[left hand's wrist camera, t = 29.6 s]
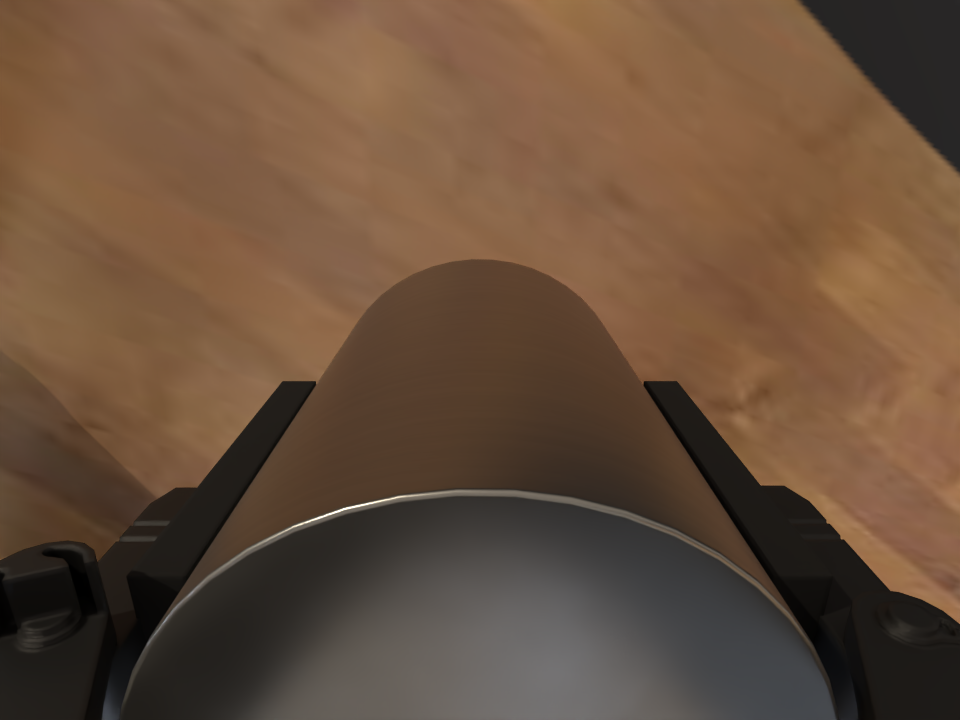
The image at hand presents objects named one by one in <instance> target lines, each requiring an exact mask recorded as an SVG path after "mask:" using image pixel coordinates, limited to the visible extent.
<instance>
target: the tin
mask: <svg viewBox="0 0 960 720" xmlns="http://www.w3.org/2000/svg"><path fill="white" fill-rule="evenodd" d="M120 720H839V715H838V710H837V706H836V702H835V699H834V695H833V691H832V687H831V683H830V680H829V677H828V675H827V673H826V671H825V669H824V666H823V664H822V662H821V660H820V658H819V656H818V654H817V652H816V650H815V647H814V645H813V643H812V642H811V640H810V639H809V637H808V636H807V634H806V633H805V631H804V630H803V628H802V627H801V625H800V624H799V622H798V621H797V619H796V618H795V616H794V615H793V613H792V611H791V610H790V608H789V607H788V605H787V604H786V602H785V601H784V599H783V598H782V596H781V595H780V593H779V592H778V590H777V589H776V587H775V586H774V584H773V583H772V581H771V579H770V578H769V576H768V575H767V573H766V572H765V570H764V569H763V567H762V566H761V564H760V563H759V561H758V560H757V558H756V557H755V555H754V554H753V552H752V551H751V549H750V547H749V546H748V544H747V543H746V541H745V540H744V538H743V537H742V535H741V534H740V532H739V531H738V529H737V528H736V526H735V525H734V523H733V522H732V520H731V519H730V517H729V515H728V514H727V512H726V511H725V509H724V508H723V506H722V505H721V503H720V502H719V500H718V499H717V497H716V496H715V494H714V493H713V491H712V490H711V488H710V486H709V485H708V483H707V482H706V480H705V479H704V477H703V476H702V474H701V473H700V471H699V470H698V468H697V467H696V465H695V464H694V462H693V461H692V459H691V458H690V456H689V454H688V453H687V451H686V450H685V448H684V447H683V445H682V444H681V442H680V441H679V439H678V438H677V436H676V435H675V433H674V432H673V430H672V429H671V427H670V426H669V424H668V422H667V421H666V419H665V418H664V416H663V415H662V413H661V412H660V410H659V409H658V407H657V406H656V404H655V403H654V401H653V400H652V398H651V397H650V395H649V394H648V392H647V390H646V389H645V387H644V386H643V384H642V383H641V381H640V380H639V378H638V377H637V375H636V374H635V372H634V371H633V369H632V368H631V366H630V365H629V363H628V361H627V360H626V358H625V357H624V355H623V354H622V352H621V351H620V349H619V348H618V346H617V345H616V343H615V342H614V340H613V339H612V337H611V336H610V334H609V333H608V331H607V329H606V328H605V326H604V325H603V324H602V322H601V321H600V319H599V318H598V317H597V315H596V314H595V312H594V311H593V310H592V309H591V308H590V307H589V306H588V305H587V304H586V303H585V302H584V300H583V299H582V298H581V297H579V296H578V295H577V294H576V293H574V292H573V291H572V290H571V289H569V288H568V287H567V286H565V285H564V284H562V283H560V282H559V281H557V280H555V279H554V278H552V277H550V276H548V275H546V274H544V273H542V272H539V271H537V270H535V269H532V268H529V267H526V266H522V265H519V264H515V263H511V262H504V261H497V260H475V259H471V260H463V261H454V262H449V263H445V264H441V265H437V266H433V267H430V268H428V269H425V270H423V271H420V272H418V273H415V274H413V275H411V276H409V277H408V278H406V279H404V280H402V281H401V282H399V283H397V284H396V285H394V286H393V287H392V288H390V289H389V290H388V291H386V292H385V293H384V294H382V295H381V296H380V297H379V298H378V299H377V300H376V301H375V302H374V303H373V304H372V305H371V306H370V307H369V308H368V309H367V311H366V312H365V313H364V315H363V316H362V317H361V319H360V320H359V321H358V323H357V324H356V325H355V327H354V328H353V330H352V331H351V333H350V335H349V336H348V338H347V339H346V341H345V342H344V344H343V345H342V347H341V348H340V350H339V351H338V353H337V354H336V356H335V357H334V359H333V360H332V362H331V363H330V365H329V366H328V368H327V369H326V371H325V372H324V374H323V375H322V377H321V378H320V380H319V382H318V383H317V385H316V386H315V388H314V389H313V391H312V392H311V394H310V395H309V397H308V398H307V400H306V401H305V403H304V404H303V406H302V407H301V409H300V410H299V412H298V413H297V415H296V416H295V418H294V419H293V421H292V422H291V424H290V425H289V427H288V429H287V430H286V432H285V433H284V435H283V436H282V438H281V439H280V441H279V442H278V444H277V445H276V447H275V448H274V450H273V451H272V453H271V454H270V456H269V457H268V459H267V460H266V462H265V463H264V465H263V466H262V468H261V469H260V471H259V472H258V474H257V476H256V477H255V479H254V480H253V482H252V483H251V485H250V486H249V488H248V489H247V491H246V492H245V494H244V495H243V497H242V498H241V500H240V501H239V503H238V504H237V506H236V507H235V509H234V510H233V512H232V513H231V515H230V516H229V518H228V519H227V521H226V523H225V524H224V526H223V527H222V529H221V530H220V532H219V533H218V535H217V536H216V538H215V539H214V541H213V542H212V544H211V545H210V547H209V548H208V550H207V551H206V553H205V554H204V556H203V557H202V559H201V560H200V562H199V563H198V565H197V566H196V568H195V570H194V571H193V573H192V574H191V576H190V577H189V579H188V580H187V582H186V583H185V585H184V586H183V588H182V589H181V591H180V592H179V594H178V595H177V597H176V598H175V600H174V601H173V603H172V604H171V606H170V607H169V609H168V610H167V612H166V614H165V615H164V617H163V618H162V620H161V621H160V623H159V624H158V626H157V627H156V629H155V630H154V632H153V633H152V635H151V636H150V638H149V640H148V642H147V644H146V646H145V648H144V650H143V651H142V653H141V655H140V657H139V659H138V661H137V663H136V665H135V667H134V669H133V670H132V674H131V677H130V680H129V683H128V687H127V690H126V693H125V696H124V700H123V703H122V707H121V716H120Z"/></svg>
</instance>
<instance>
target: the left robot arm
mask: <svg viewBox="0 0 960 720" xmlns="http://www.w3.org/2000/svg"><path fill="white" fill-rule="evenodd" d="M315 386H316V381H283V382H282V383H281V384H280V385H279V387H278V388H277V389H276V390H275V391H274V393H273V394H272V395H271V396H270V398H269V399H268V400H267V401H266V403H265V404H264V405H263V406H262V408H261V409H260V410H259V411H258V413H257V414H256V415H255V416H254V418H253V419H252V420H251V421H250V423H249V424H248V425H247V426H246V428H245V429H244V430H243V431H242V433H241V434H240V435H239V436H238V438H237V439H236V440H235V441H234V443H233V444H232V445H231V446H230V448H229V449H228V450H227V451H226V453H225V454H224V455H223V456H222V458H221V459H220V460H219V461H218V462H217V464H216V465H215V466H214V467H213V469H212V470H211V471H210V472H209V474H208V475H207V476H206V477H205V479H204V480H203V481H202V482H201V484H200V485H199V486H198V487H197V488H175V489H173V490H171V491H170V492H168V493H167V494H165V495H163V496H162V497H160V498H159V499H157V500H155V501H154V502H152V503H151V504H150V505H149V506H148V507H147V508H146V509H145V510H144V511H143V512H142V513H141V515H140V516H139V517H138V518H137V519H136V520H135V521H134V525H133V526H130V527H129V528H128V529H127V530H126V531H125V532H124V534H123V535H122V536H121V537H120V541H119V542H116V543H115V544H114V545H113V546H112V547H111V548H110V549H109V550H108V551H107V553H106V554H105V555H104V556H103V557H102V558H101V559H100V560H99V561H98V563H97V559H96V556H95V552H94V550H93V549H92V548H90V547H89V546H88V545H86V544H85V543H80V542H74V541H60V542H51V543H45V544H41V545H38V546H34V547H31V548H27V549H24V550H22V551H19V552H17V553H15V554H13V555H11V556H9V557H6V558H4V559H2V560H0V720H120V716H121V707H122V703H123V700H124V696H125V693H126V690H127V687H128V683H129V680H130V677H131V674H132V670H133V669H134V667H135V665H136V663H137V661H138V659H139V657H140V655H141V653H142V651H143V650H144V648H145V646H146V644H147V642H148V640H149V638H150V636H151V635H152V633H153V632H154V630H155V629H156V627H157V626H158V624H159V623H160V621H161V620H162V618H163V617H164V615H165V614H166V612H167V610H168V609H169V607H170V606H171V604H172V603H173V601H174V600H175V598H176V597H177V595H178V594H179V592H180V591H181V589H182V588H183V586H184V585H185V583H186V582H187V580H188V579H189V577H190V576H191V574H192V573H193V571H194V570H195V568H196V566H197V565H198V563H199V562H200V560H201V559H202V557H203V556H204V554H205V553H206V551H207V550H208V548H209V547H210V545H211V544H212V542H213V541H214V539H215V538H216V536H217V535H218V533H219V532H220V530H221V529H222V527H223V526H224V524H225V523H226V521H227V519H228V518H229V516H230V515H231V513H232V512H233V510H234V509H235V507H236V506H237V504H238V503H239V501H240V500H241V498H242V497H243V495H244V494H245V492H246V491H247V489H248V488H249V486H250V485H251V483H252V482H253V480H254V479H255V477H256V476H257V474H258V472H259V471H260V469H261V468H262V466H263V465H264V463H265V462H266V460H267V459H268V457H269V456H270V454H271V453H272V451H273V450H274V448H275V447H276V445H277V444H278V442H279V441H280V439H281V438H282V436H283V435H284V433H285V432H286V430H287V429H288V427H289V425H290V424H291V422H292V421H293V419H294V418H295V416H296V415H297V413H298V412H299V410H300V409H301V407H302V406H303V404H304V403H305V401H306V400H307V398H308V397H309V395H310V394H311V392H312V391H313V389H314V388H315ZM643 386H644V387H645V389H646V390H647V392H648V394H649V395H650V397H651V398H652V400H653V401H654V403H655V404H656V406H657V407H658V409H659V410H660V412H661V413H662V415H663V416H664V418H665V419H666V421H667V422H668V424H669V426H670V427H671V429H672V430H673V432H674V433H675V435H676V436H677V438H678V439H679V441H680V442H681V444H682V445H683V447H684V448H685V450H686V451H687V453H688V454H689V456H690V458H691V459H692V461H693V462H694V464H695V465H696V467H697V468H698V470H699V471H700V473H701V474H702V476H703V477H704V479H705V480H706V482H707V483H708V485H709V486H710V488H711V490H712V491H713V493H714V494H715V496H716V497H717V499H718V500H719V502H720V503H721V505H722V506H723V508H724V509H725V511H726V512H727V514H728V515H729V517H730V519H731V520H732V522H733V523H734V525H735V526H736V528H737V529H738V531H739V532H740V534H741V535H742V537H743V538H744V540H745V541H746V543H747V544H748V546H749V547H750V549H751V551H752V552H753V554H754V555H755V557H756V558H757V560H758V561H759V563H760V564H761V566H762V567H763V569H764V570H765V572H766V573H767V575H768V576H769V578H770V579H771V581H772V583H773V584H774V586H775V587H776V589H777V590H778V592H779V593H780V595H781V596H782V598H783V599H784V601H785V602H786V604H787V605H788V607H789V608H790V610H791V611H792V613H793V615H794V616H795V618H796V619H797V621H798V622H799V624H800V625H801V627H802V628H803V630H804V631H805V633H806V634H807V636H808V637H809V639H810V640H811V642H812V643H813V645H814V647H815V650H816V652H817V654H818V656H819V658H820V660H821V662H822V664H823V666H824V669H825V671H826V673H827V675H828V677H829V680H830V683H831V687H832V691H833V695H834V699H835V702H836V706H837V710H838V715H839V720H960V624H959V623H958V622H956V621H955V620H954V619H953V618H951V617H950V616H949V615H947V614H946V613H945V612H944V611H942V610H940V609H938V608H936V607H935V606H933V605H931V604H929V603H927V602H925V601H923V600H921V599H918V598H915V597H912V596H909V595H906V594H903V593H900V592H893V591H890V590H889V589H888V588H887V587H886V586H885V585H884V583H883V582H882V581H881V580H880V579H879V578H878V577H877V576H876V575H875V573H874V572H873V571H872V570H871V569H870V568H869V567H868V566H867V565H866V564H865V562H864V561H863V560H862V559H861V558H860V557H859V556H858V555H857V554H856V552H855V551H854V550H853V549H852V548H851V547H850V546H849V545H848V544H847V542H846V541H845V540H841V538H840V535H839V534H838V532H837V531H836V530H835V529H834V528H833V527H832V526H831V525H830V524H827V523H826V519H825V518H824V517H823V516H822V515H821V514H820V513H819V511H818V510H817V509H816V508H815V507H814V506H813V505H812V504H811V503H810V501H808V500H806V499H805V498H803V497H801V496H800V495H798V494H797V493H795V492H793V491H792V490H790V489H789V488H787V487H785V486H761V485H760V484H759V483H758V482H757V480H756V479H755V478H754V477H753V475H752V474H751V473H750V472H749V471H748V469H747V468H746V467H745V466H744V464H743V463H742V462H741V461H740V459H739V458H738V457H737V456H736V454H735V453H734V452H733V451H732V449H731V448H730V447H729V446H728V444H727V443H726V442H725V441H724V439H723V438H722V437H721V436H720V434H719V433H718V432H717V431H716V429H715V428H714V427H713V426H712V424H711V423H710V422H709V421H708V419H707V418H706V417H705V416H704V414H703V413H702V412H701V411H700V409H699V408H698V407H697V406H696V404H695V403H694V402H693V401H692V399H691V398H690V397H689V396H688V395H687V393H686V392H685V391H684V390H683V388H682V387H681V386H680V385H679V383H678V382H677V381H644V385H643Z"/></svg>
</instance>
